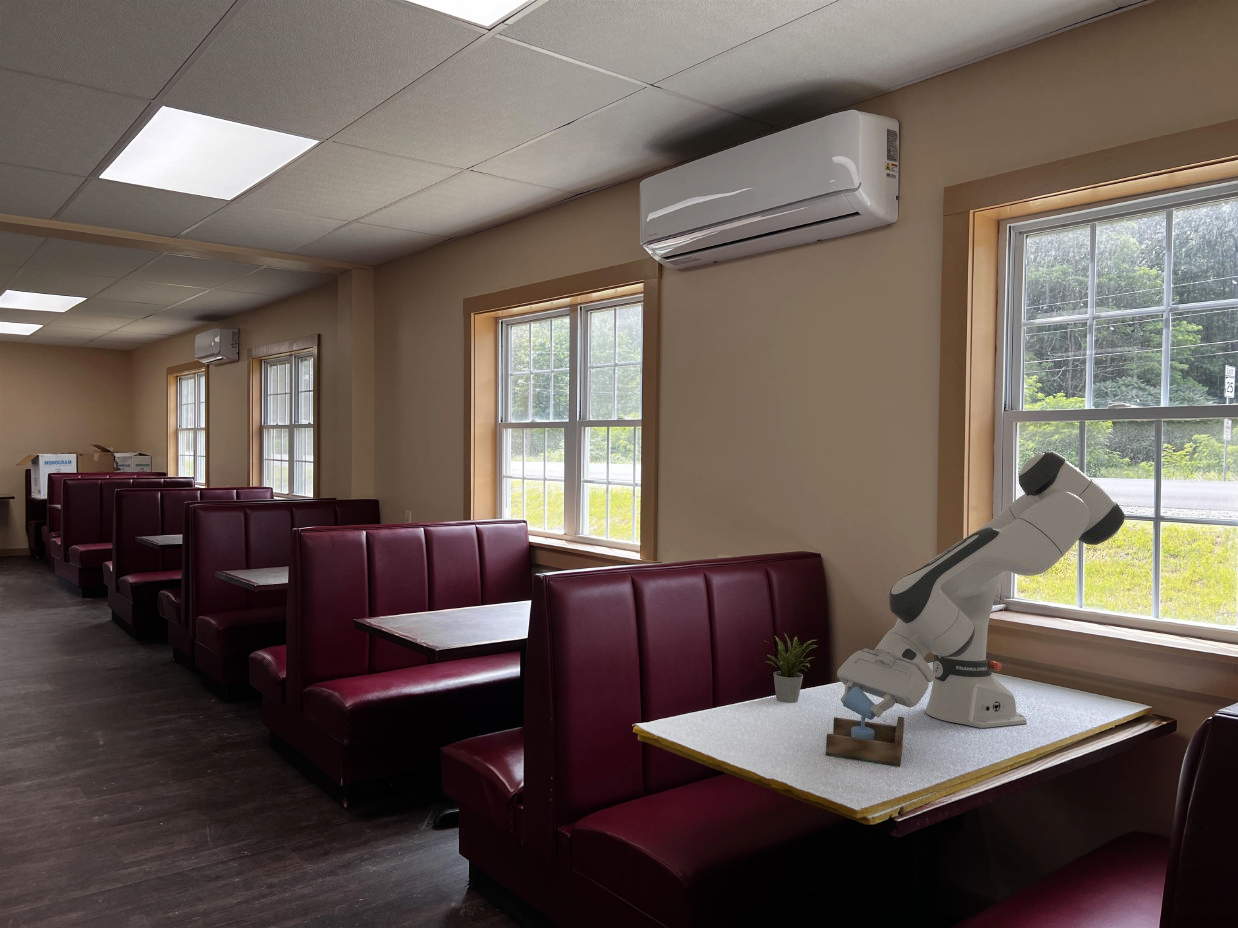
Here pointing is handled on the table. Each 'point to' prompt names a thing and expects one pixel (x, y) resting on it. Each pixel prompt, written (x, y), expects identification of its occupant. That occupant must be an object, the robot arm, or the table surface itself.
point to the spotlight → (860, 712)
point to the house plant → (789, 671)
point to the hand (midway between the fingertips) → (858, 708)
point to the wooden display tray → (867, 742)
